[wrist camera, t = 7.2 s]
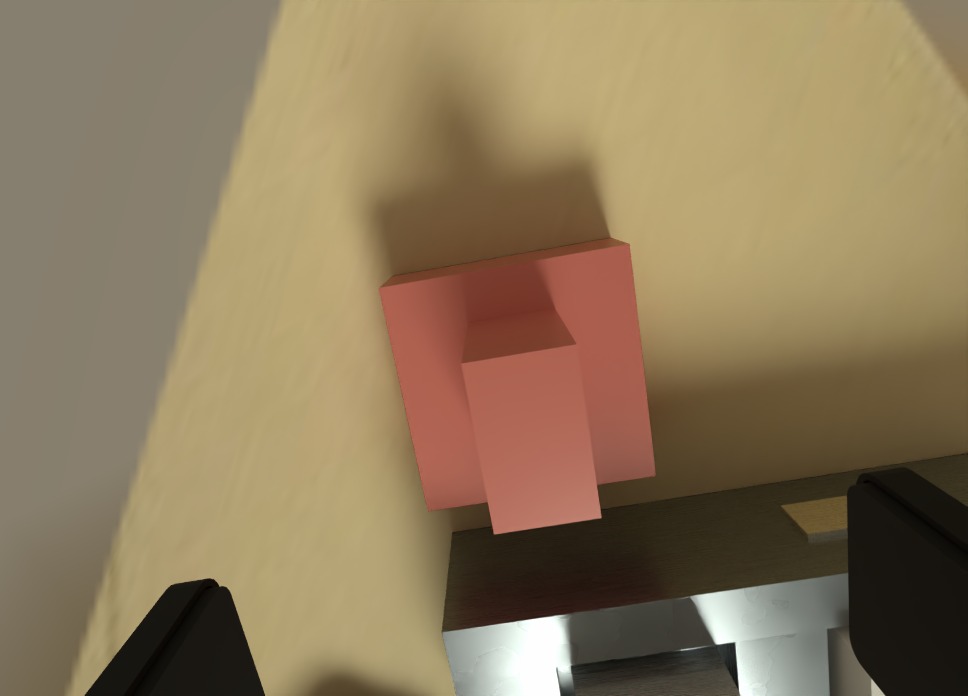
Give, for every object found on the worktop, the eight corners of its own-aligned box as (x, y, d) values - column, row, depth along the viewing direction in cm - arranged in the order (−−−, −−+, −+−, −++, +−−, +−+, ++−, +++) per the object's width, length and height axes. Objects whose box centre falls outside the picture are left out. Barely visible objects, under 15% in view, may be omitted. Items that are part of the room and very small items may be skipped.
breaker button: (939, 682, 23) (1031, 780, 19) (809, 700, 23) (873, 800, 19) (941, 570, 22) (1039, 651, 18) (803, 590, 22) (871, 674, 18)
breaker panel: (972, 654, 27) (1226, 893, 18) (491, 720, 28) (494, 979, 19) (979, 447, 24) (1278, 599, 15) (451, 528, 25) (430, 717, 16)
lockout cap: (635, 442, 24) (705, 557, 17) (435, 474, 25) (411, 600, 17) (611, 237, 22) (676, 259, 15) (392, 276, 23) (343, 317, 15)
